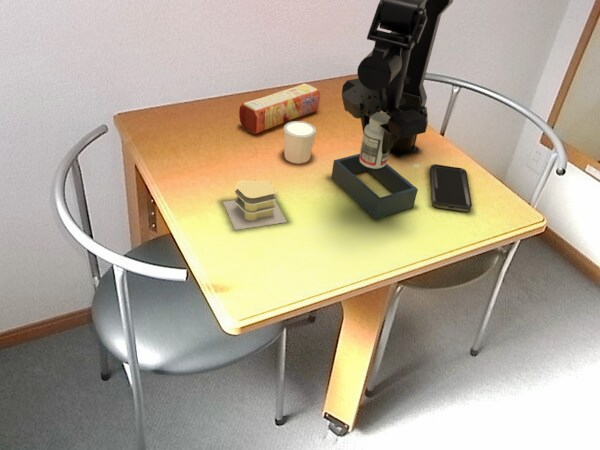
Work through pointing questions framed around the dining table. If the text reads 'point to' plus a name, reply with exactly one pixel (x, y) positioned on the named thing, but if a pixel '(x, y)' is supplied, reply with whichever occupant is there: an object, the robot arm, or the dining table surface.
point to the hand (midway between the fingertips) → (375, 146)
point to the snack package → (279, 108)
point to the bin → (365, 196)
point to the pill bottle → (374, 142)
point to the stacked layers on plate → (254, 205)
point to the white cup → (298, 141)
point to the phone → (450, 188)
